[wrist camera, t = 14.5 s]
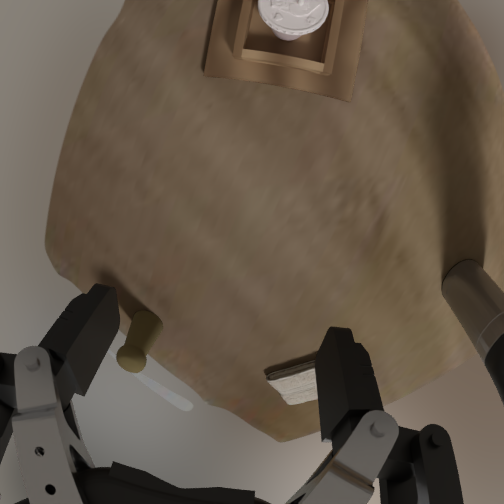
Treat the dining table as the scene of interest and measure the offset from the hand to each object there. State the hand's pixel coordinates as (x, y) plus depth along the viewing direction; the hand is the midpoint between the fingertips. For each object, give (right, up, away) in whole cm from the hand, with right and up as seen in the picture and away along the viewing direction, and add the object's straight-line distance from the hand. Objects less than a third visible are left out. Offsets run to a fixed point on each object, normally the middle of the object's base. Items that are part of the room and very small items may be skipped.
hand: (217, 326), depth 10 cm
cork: (-18, -10, +42) cm, 47 cm away
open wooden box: (+6, +30, +18) cm, 35 cm away
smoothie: (+5, +29, +17) cm, 34 cm away
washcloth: (+15, -23, +47) cm, 54 cm away
